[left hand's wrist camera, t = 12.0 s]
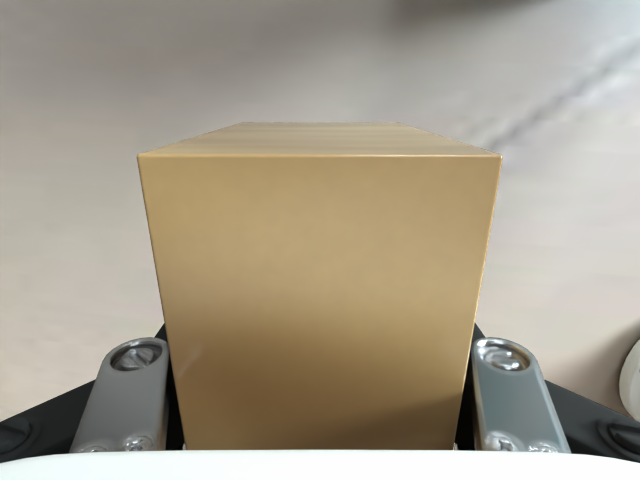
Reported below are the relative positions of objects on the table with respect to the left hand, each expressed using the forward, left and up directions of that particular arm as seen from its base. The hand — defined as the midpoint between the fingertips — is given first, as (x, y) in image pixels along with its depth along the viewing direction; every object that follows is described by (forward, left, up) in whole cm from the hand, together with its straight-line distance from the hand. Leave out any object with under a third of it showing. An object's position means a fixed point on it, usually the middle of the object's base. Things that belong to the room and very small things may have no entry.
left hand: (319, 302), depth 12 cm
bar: (+21, +15, -2) cm, 26 cm away
